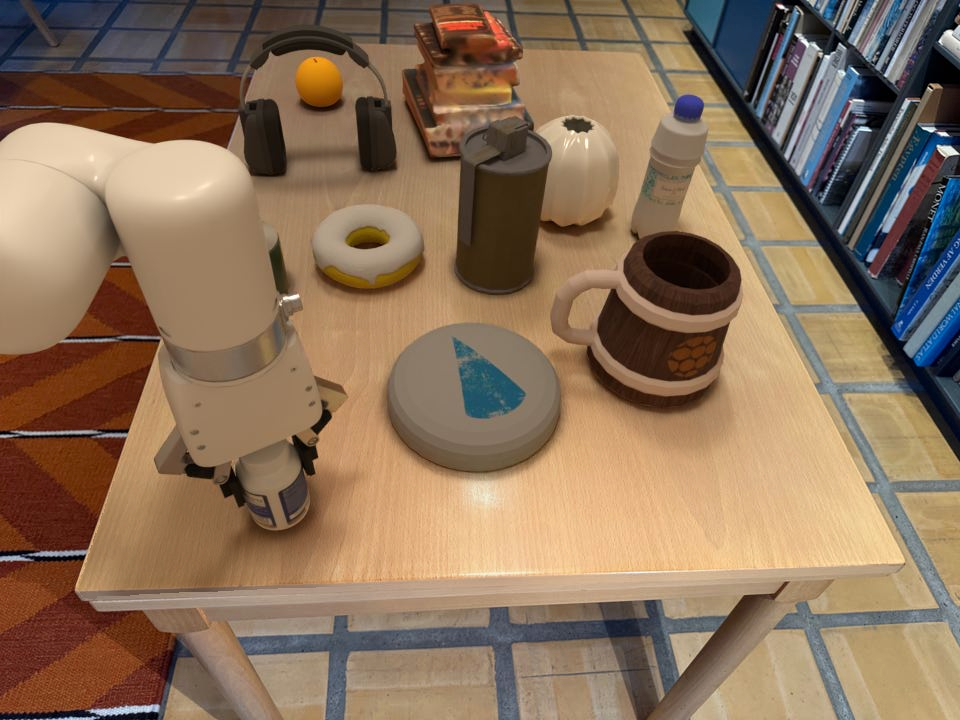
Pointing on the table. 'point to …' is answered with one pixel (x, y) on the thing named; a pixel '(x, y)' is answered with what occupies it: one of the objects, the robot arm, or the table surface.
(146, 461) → the table surface
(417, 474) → the table surface
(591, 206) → the vase
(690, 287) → the mug
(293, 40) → the headphones
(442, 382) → the frisbee
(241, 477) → the pill bottle
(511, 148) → the canister
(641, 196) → the bottle
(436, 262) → the table surface
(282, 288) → the tin can
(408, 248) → the donut
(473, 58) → the book
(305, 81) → the orange
